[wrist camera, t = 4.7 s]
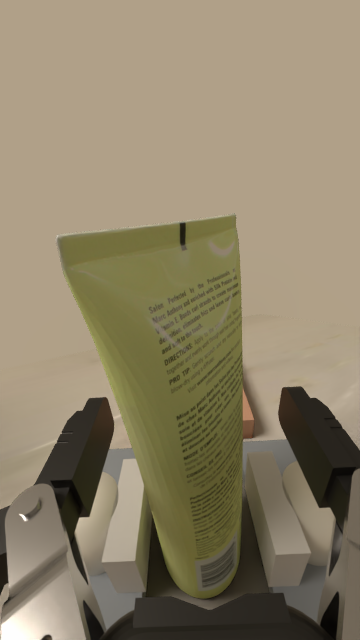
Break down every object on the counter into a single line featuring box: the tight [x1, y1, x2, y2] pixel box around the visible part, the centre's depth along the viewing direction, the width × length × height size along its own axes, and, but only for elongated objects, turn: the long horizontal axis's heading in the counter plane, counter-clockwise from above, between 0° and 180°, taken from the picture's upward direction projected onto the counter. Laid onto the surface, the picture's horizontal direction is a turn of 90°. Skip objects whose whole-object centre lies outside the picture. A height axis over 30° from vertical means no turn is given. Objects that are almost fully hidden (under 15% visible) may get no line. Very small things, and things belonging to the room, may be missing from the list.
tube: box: [56, 214, 243, 599], centre depth 11 cm, size 6×5×20 cm
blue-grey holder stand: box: [75, 439, 335, 630], centre depth 14 cm, size 17×12×5 cm
